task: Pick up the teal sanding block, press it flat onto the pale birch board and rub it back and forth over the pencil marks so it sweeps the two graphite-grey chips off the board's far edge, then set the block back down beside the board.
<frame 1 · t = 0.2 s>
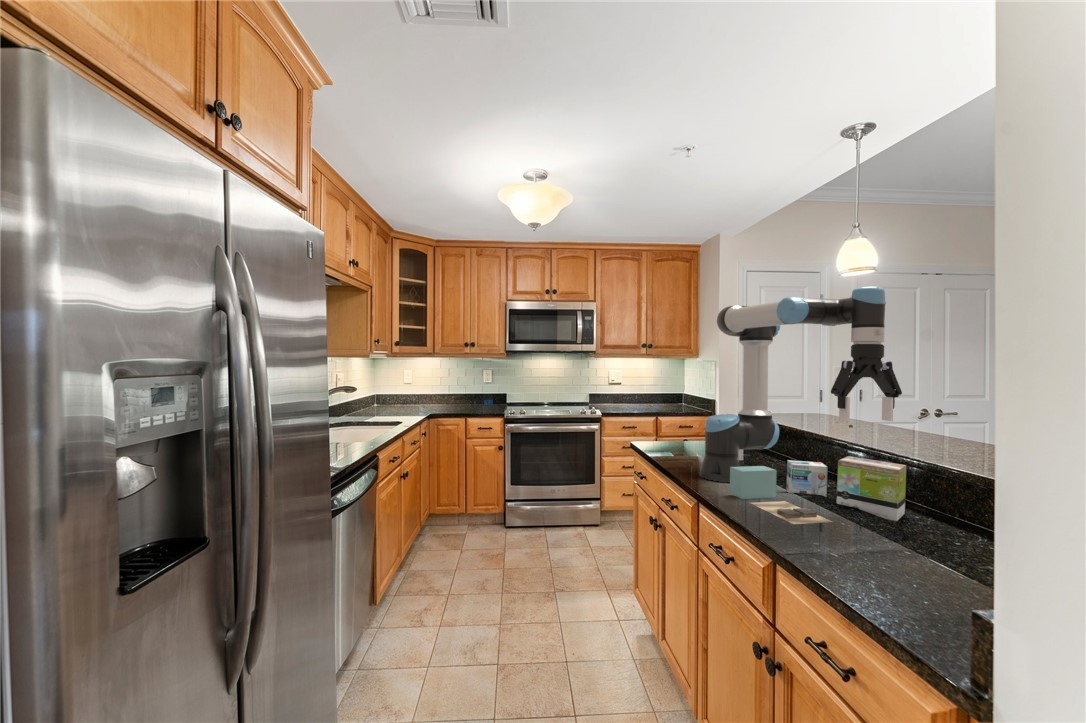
hand: (865, 420, 127), 28 cm above the worktop, tool pointing down, fingers open, 13 cm apart
tea box: (870, 512, 135), on the worktop
chip B: (788, 515, 126), point 1 cm above the worktop, touching birch board
chip A: (804, 514, 127), point 1 cm above the worktop, touching birch board
birch board: (788, 517, 129), on the worktop
light bulb box: (806, 496, 151), on the worktop
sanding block: (752, 500, 145), on the worktop
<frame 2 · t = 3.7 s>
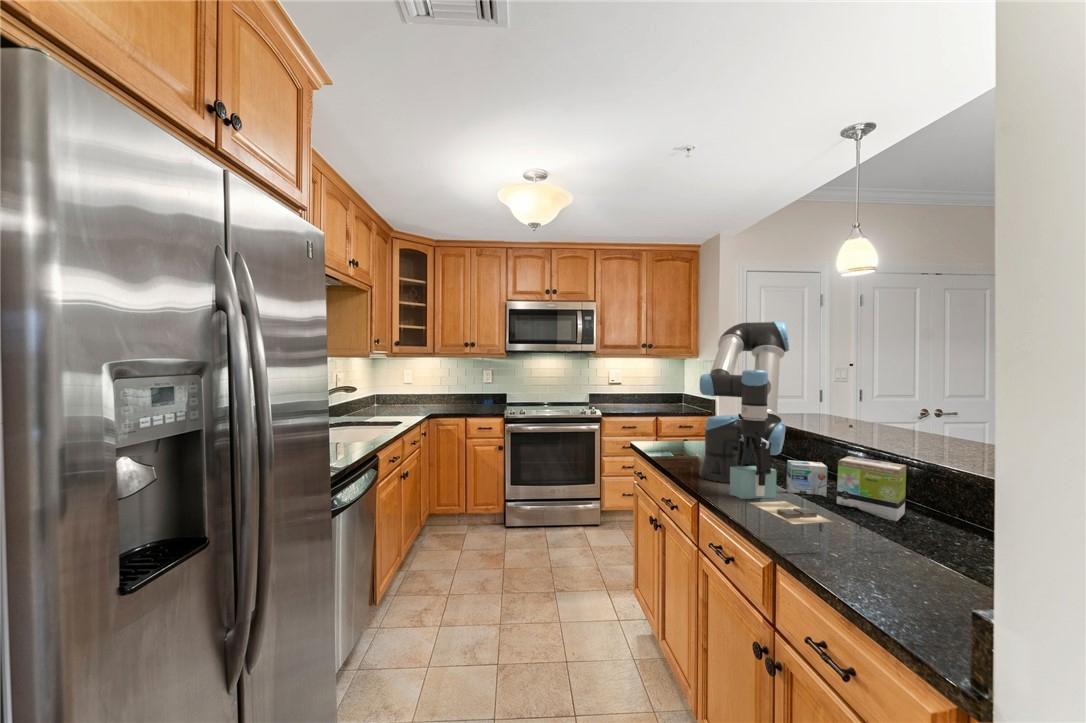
hand: (752, 492, 145), 2 cm above the worktop, tool pointing down, fingers closed on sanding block, 6 cm apart
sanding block: (752, 500, 145), on the worktop, touching gripper
everything else where it was.
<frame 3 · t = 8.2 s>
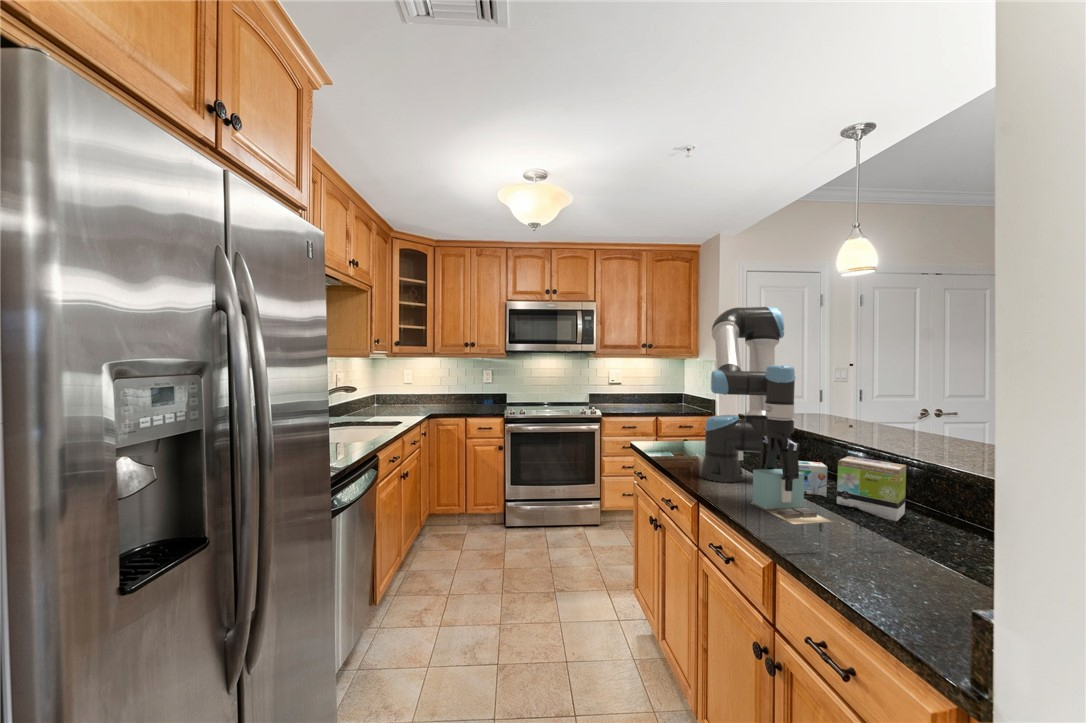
hand: (777, 498, 133), 4 cm above the worktop, tool pointing down, fingers closed on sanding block, 6 cm apart
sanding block: (777, 506, 133), point 2 cm above the worktop, touching gripper
everything else where it was.
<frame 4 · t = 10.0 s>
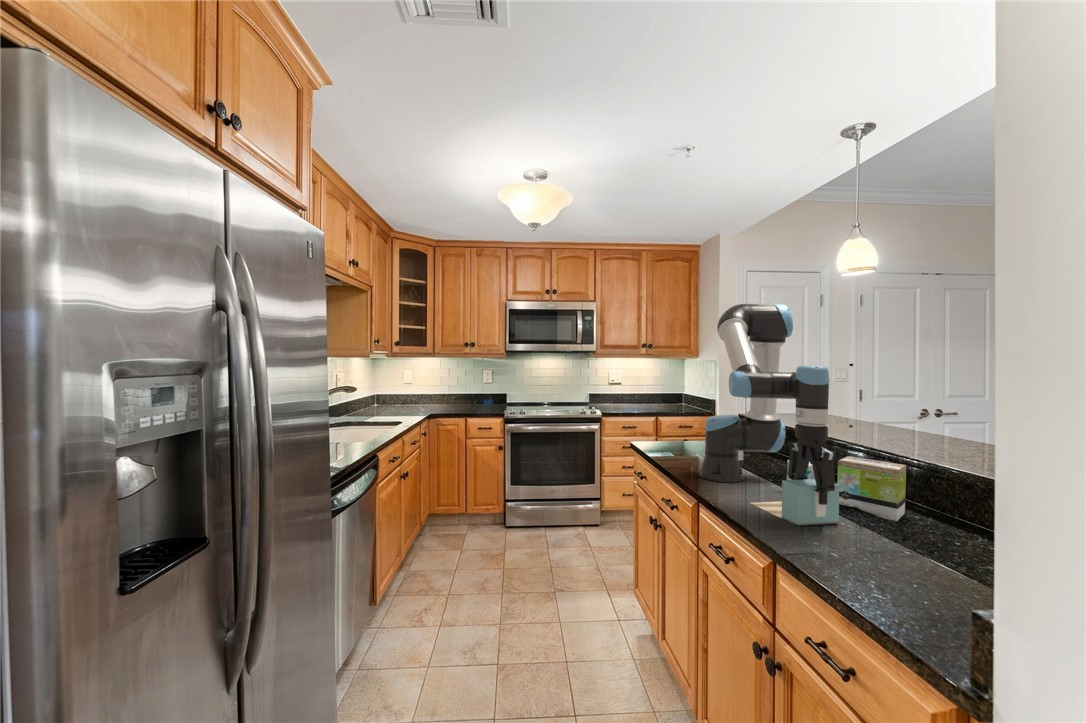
hand: (809, 511, 121), 4 cm above the worktop, tool pointing down, fingers closed on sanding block, 6 cm apart
chip B: (811, 534, 117), on the worktop
chip A: (827, 533, 119), on the worktop
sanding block: (809, 520, 121), point 2 cm above the worktop, touching gripper
everything else where it was.
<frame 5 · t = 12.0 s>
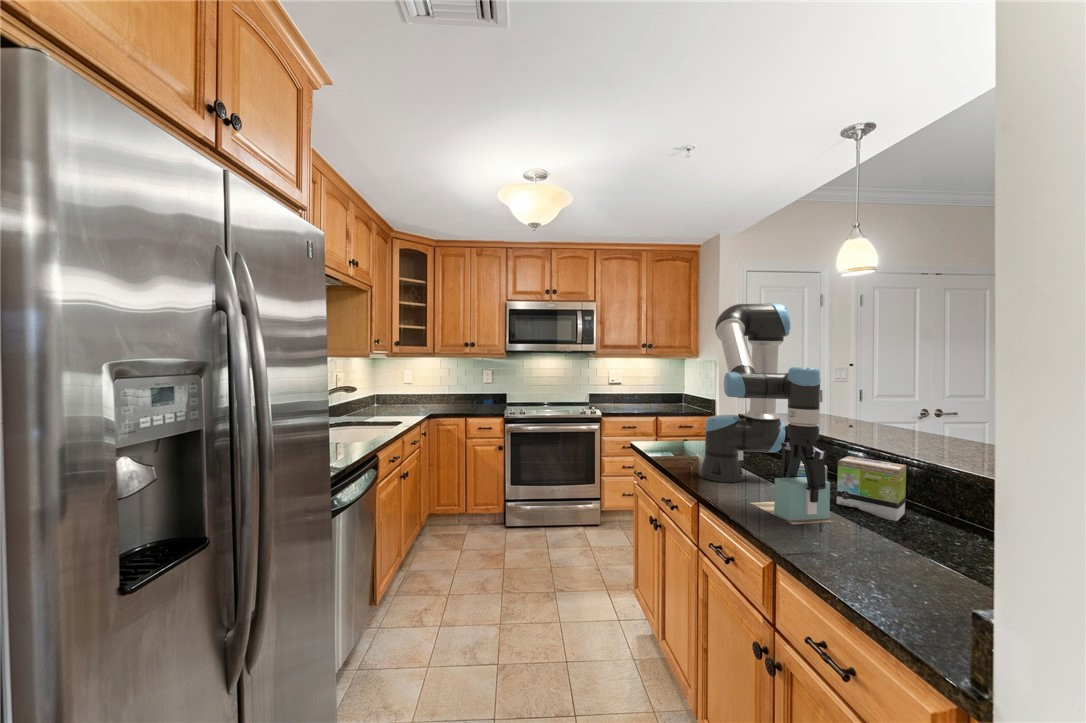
hand: (801, 509, 125), 4 cm above the worktop, tool pointing down, fingers closed on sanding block, 6 cm apart
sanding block: (801, 517, 125), point 2 cm above the worktop, touching gripper
everything else where it was.
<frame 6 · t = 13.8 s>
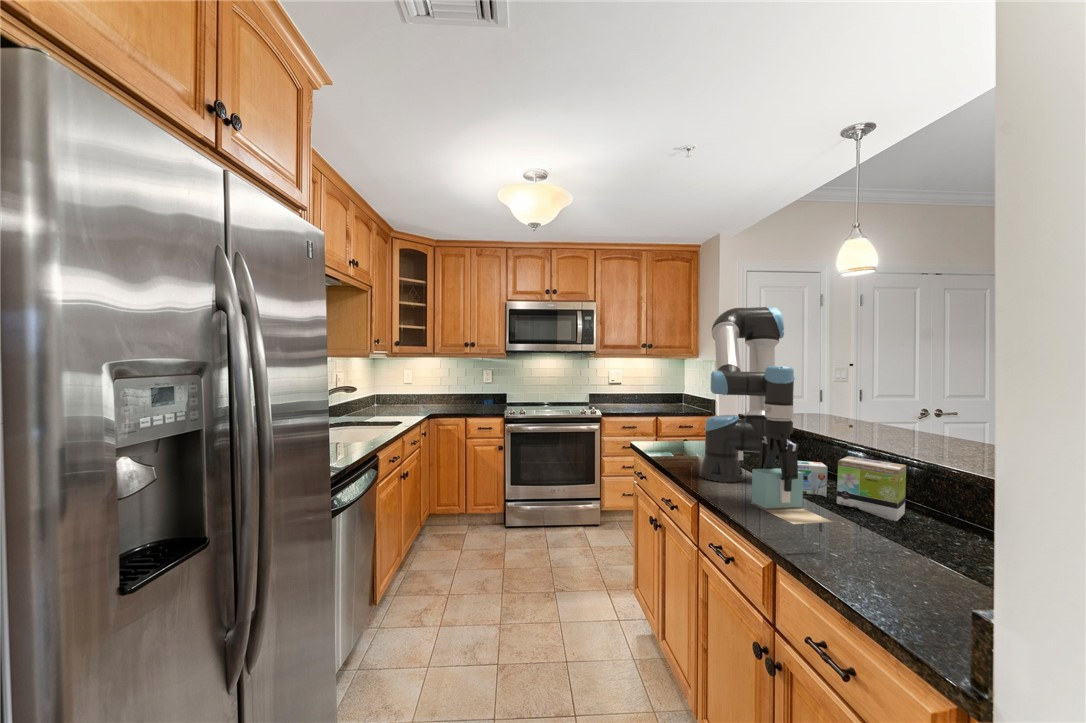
hand: (776, 498, 134), 4 cm above the worktop, tool pointing down, fingers closed on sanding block, 6 cm apart
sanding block: (776, 505, 134), point 2 cm above the worktop, touching gripper
everything else where it was.
when the fingers open (4 cm above the worktop, at t = 21.5 s): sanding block drops 2 cm, on the worktop.
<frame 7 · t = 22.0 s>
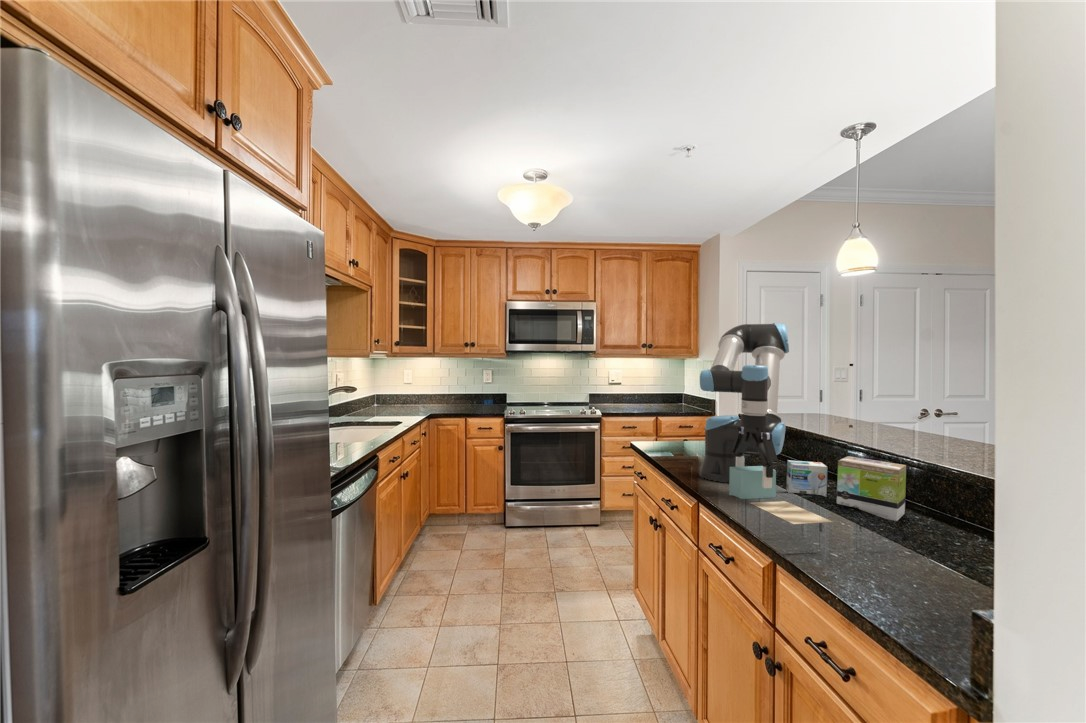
hand: (752, 482, 145), 6 cm above the worktop, tool pointing down, fingers open, 13 cm apart
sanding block: (752, 500, 145), on the worktop
everything else where it was.
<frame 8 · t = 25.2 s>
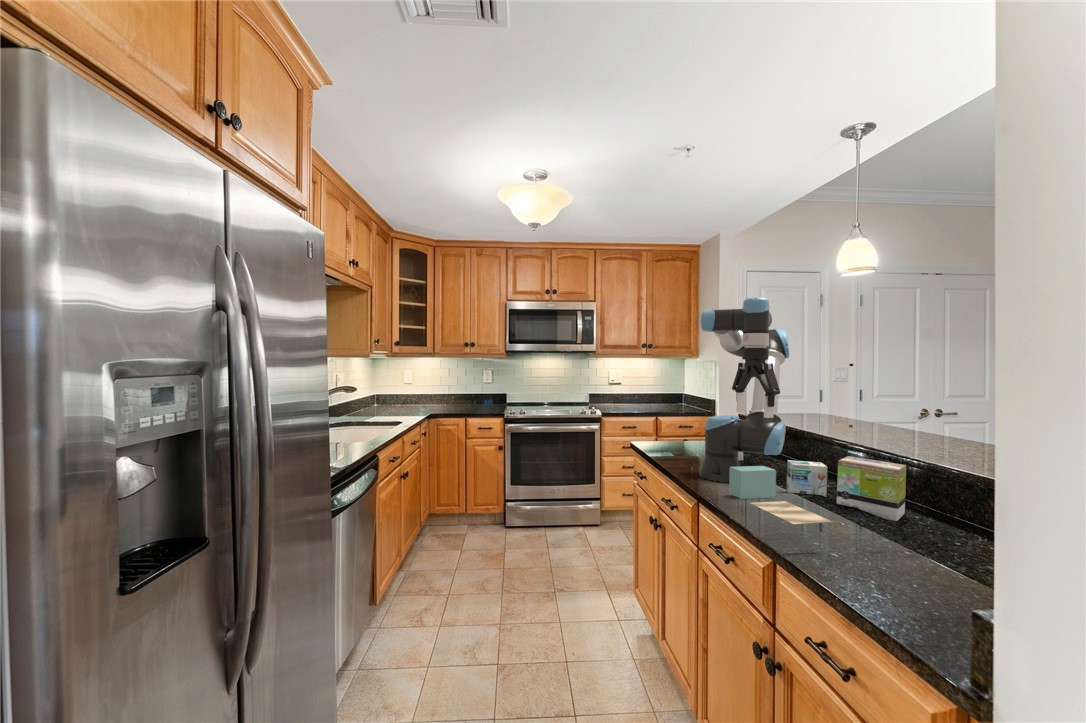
hand: (754, 415, 145), 27 cm above the worktop, tool pointing down, fingers open, 13 cm apart
nothing on the worktop moved.
at the end: chip A inside the target area (12.4 cm from its centre), on the worktop; chip B inside the target area (12.0 cm from its centre), on the worktop; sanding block tilted 0° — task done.
